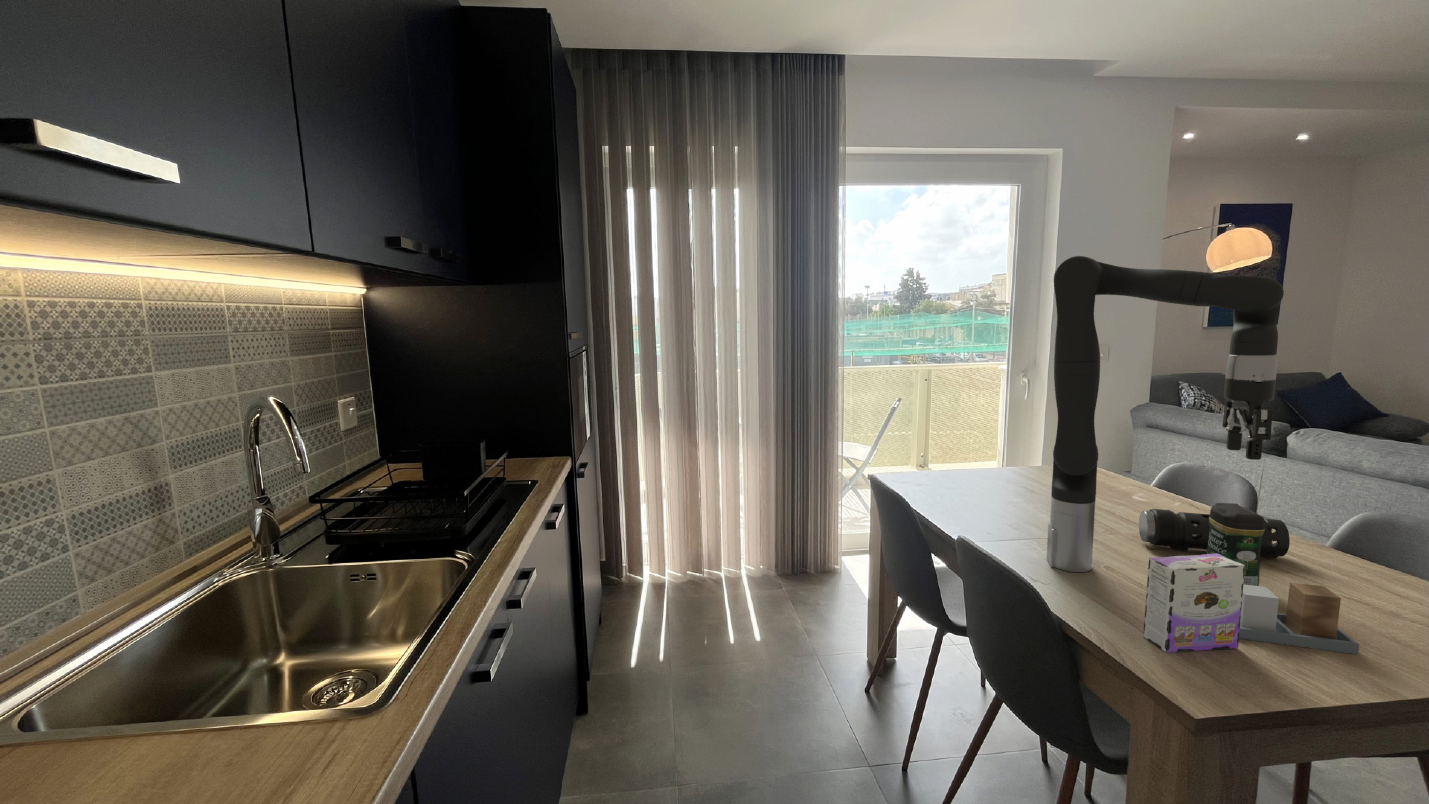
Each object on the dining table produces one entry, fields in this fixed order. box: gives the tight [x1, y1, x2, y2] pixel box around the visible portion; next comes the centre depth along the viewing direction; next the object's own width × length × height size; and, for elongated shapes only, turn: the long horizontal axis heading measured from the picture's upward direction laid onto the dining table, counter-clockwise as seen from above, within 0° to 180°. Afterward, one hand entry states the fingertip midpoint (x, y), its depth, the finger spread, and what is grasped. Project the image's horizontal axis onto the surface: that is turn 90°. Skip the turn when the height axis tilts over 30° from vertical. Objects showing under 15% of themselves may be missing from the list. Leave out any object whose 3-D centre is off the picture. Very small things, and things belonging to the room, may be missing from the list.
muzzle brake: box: [1138, 508, 1291, 560], centre depth 147 cm, size 10×28×10 cm, turn 67°
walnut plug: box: [1285, 582, 1342, 640], centre depth 108 cm, size 5×5×9 cm
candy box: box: [1143, 554, 1245, 654], centre depth 107 cm, size 14×6×16 cm, turn 92°
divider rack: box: [1239, 584, 1360, 655], centre depth 109 cm, size 18×9×8 cm, turn 68°
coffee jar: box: [1206, 502, 1265, 586], centre depth 128 cm, size 10×8×19 cm
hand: (1243, 454), depth 119 cm, fingers open, 8 cm apart
